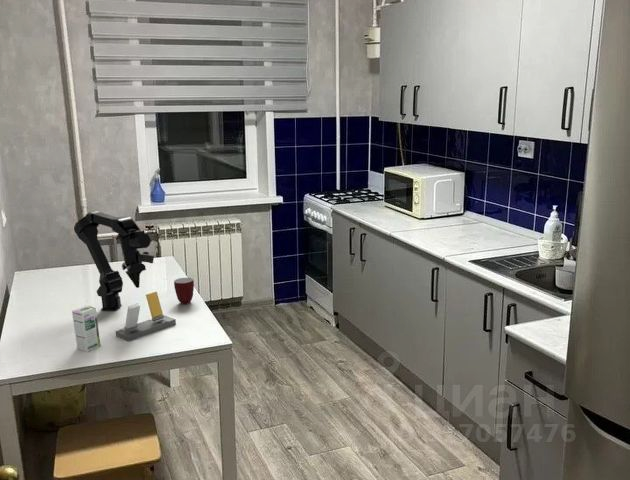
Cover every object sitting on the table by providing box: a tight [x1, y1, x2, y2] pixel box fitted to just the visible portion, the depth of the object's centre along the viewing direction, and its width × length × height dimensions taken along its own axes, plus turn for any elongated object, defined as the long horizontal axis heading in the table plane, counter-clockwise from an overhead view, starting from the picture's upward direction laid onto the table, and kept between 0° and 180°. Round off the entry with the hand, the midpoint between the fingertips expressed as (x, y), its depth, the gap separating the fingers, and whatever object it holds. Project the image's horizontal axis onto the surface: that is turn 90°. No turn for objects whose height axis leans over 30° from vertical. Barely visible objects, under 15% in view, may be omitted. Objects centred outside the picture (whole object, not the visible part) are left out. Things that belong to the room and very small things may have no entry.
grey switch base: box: [115, 314, 177, 342], centre depth 228 cm, size 21×8×2 cm, turn 140°
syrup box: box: [71, 305, 102, 352], centre depth 212 cm, size 6×6×14 cm
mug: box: [173, 277, 195, 305], centre depth 255 cm, size 11×8×10 cm
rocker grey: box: [124, 303, 141, 331], centre depth 221 cm, size 2×4×11 cm, turn 140°
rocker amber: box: [145, 291, 165, 322], centre depth 231 cm, size 2×4×11 cm, turn 140°
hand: (137, 287), depth 241 cm, fingers closed
